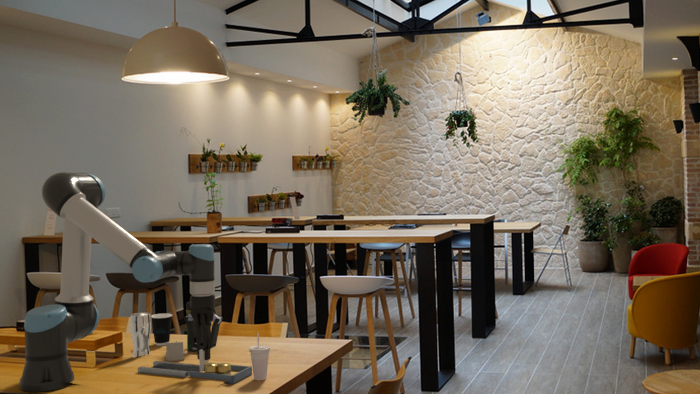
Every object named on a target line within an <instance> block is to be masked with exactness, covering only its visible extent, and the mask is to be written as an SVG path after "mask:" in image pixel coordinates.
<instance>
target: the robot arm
mask: <svg viewBox="0 0 700 394" xmlns="http://www.w3.org/2000/svg"><path fill="white" fill-rule="evenodd" d="M41 195H42V196H41V197H42V198H43V199H42V200H43V202H44V203H45V205H46V206H47V207H48V208H49V209H50V210H51V211H52V212H53V213H54V214H55V215H56V216H58V217H59V218H61V220H63V225H62V227H63V229H62V248H61V249H62V250H61V251H62V253H61V268H60V269H61V270H60V271H61V274H60V291H59V292H60V293H59V294H58V295H57V296H56V297H55V298H54V304H47V305H43V306H41V305H40V306H37V307H34V308H32V309H30V310H28V311H27V312H26V313H25V317H24V324H23V329H24V349H25V351H24V352H25V353H24V354H25V358H24V359H25V363H24V367H23V371H22V375H21V377H20V380H19V390H21V391H23V392H28V393H29V392H30V393H38V392H39V393H40V392H41V393H43V392H49V391H50V392H51V391H55V390H60V389H64V388H67V387H69V386H72V385H73V382H74V380H75V372H74V371H73V370H72V366H71V363H70V359H69V358H68V344H69V343H73V342H75V341H79V340H82V339H84V338H86V337H88V336H89V335H91V334H92V333H94V331H95V330H96V329H97V328H98V325H99V323H100V311H99V309H98V308H97V307H96V304H95V303H94V300H95V299H94V297H93V296H92V295H91V294H90V273H91V257H92V239H94V240H95V242H97V243H99V245H101V246H102V247H103V248H105V249H106V250H107V251H109V252H110V253H111V254H112V255H113V256H115V257H117V258H118V259H119V260H120V261H121V262H123V263H124V264H125V265H127V266H128V267H129V268H131V271H132V274H133V277H134V278H135V280H137V281H138V282H141V283H151V282H152V283H153V282H156V281H158V280H161V279H165V278H168V277H173V276H189V294H190V296H189V302H190V306H191V311H190V314H189V315H188V316H187V315H186V316H185V315H184V316H183V320H184V321H185V323H186V324H185V325H186V326H187V327H186V328H188V332H189V337H190V341H191V346H192V347H195V348H197V351H196V353H197V355H196V356H197V360H199V365H200V371H199V372H205V364H207V363H210V362H209V360H211V349H212V348H216V346H217V343H218V336H219V332H220V326H221V324H222V321H223V317H222V316H218V315H217V312H216V310H215V308H216V295H215V294H214V293H215V292H216V291H215V290H216V289H215V288H216V286H215V285H216V284H215V252H214V250H215V249H214V246H213V245H211V244H210V243H209V244H208V243H202V244H198V243H197V244H191V245H190V246H189V247H188V250H185V251H184V250H183V251H182V250H181V251H180V250H161V251H158V250H157V251H155V252H154V251H152V250H151V249H150V248H148V247H147V246H145V244H143V243H142V242H141V241H140V240H138V239H137V238H136V237H135V236H133V235H132V234H131V233H129V232H128V231H127V230H125V229H124V228H123V227H122V226H120V225H119V224H118V223H116V222H115V221H114V220H112V219H111V218H110V217H108V216H107V215H106V214H105V213H103V212H102V211H101V210H99V207H100V206H102V203H104V201H105V198H106V187H105V185H104V183H103V182H102V180H101V179H100V178H99V177H97V176H96V175H94V174H91V173H87V172H86V173H85V172H63V171H61V172H57V173H54V174H52V175H50V176H49V177H48V178H47V179H46V180H44V183H43V185H42V189H41ZM193 319H194V320H193ZM194 321H195V323H194Z"/></svg>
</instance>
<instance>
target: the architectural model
mask: <svg viewBox="0 0 700 394" xmlns="http://www.w3.org/2000/svg"><path fill="white" fill-rule="evenodd" d="M165 346H166V348H165V349H166V352H165V362H174V361H175V362H176V361H184V355H186V354H188V351H189V350H188V349H185V350H184V342H183V341H177V340H176V341H175V342H169V343H166V345H165Z"/></svg>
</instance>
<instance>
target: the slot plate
mask: <svg viewBox="0 0 700 394" xmlns="http://www.w3.org/2000/svg"><path fill="white" fill-rule="evenodd" d="M152 364H153V366H151V367H150V366H148V367H147V366H139V367H137V373H138V374H148V375H157V376H165V377H167V376H168V377H174V378H175V377H176V378H183V379H186V378H188V377H190V371H195V372H201V371H200V364H193V363H183V362H176V361H175V362H174V361H164V360H163V361H161V360H154V361H153V363H152Z"/></svg>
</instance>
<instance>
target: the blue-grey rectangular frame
mask: <svg viewBox="0 0 700 394" xmlns="http://www.w3.org/2000/svg"><path fill="white" fill-rule="evenodd" d="M218 364H221V363H218ZM231 371H235V372H236V373H234V374H231V375H225V374H215V373H205V371H199V372H195V371H190V376H189V377H190V378H199V379H210V380H217V381H219V380H220V381H223V384H228V385H235V384H236V383H239V382H240V381H242V380H244V379H246V378H248V377H249V376H252V375H253V367H252V365H251V366H249V365H239V364H231ZM237 371H238V372H237Z"/></svg>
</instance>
